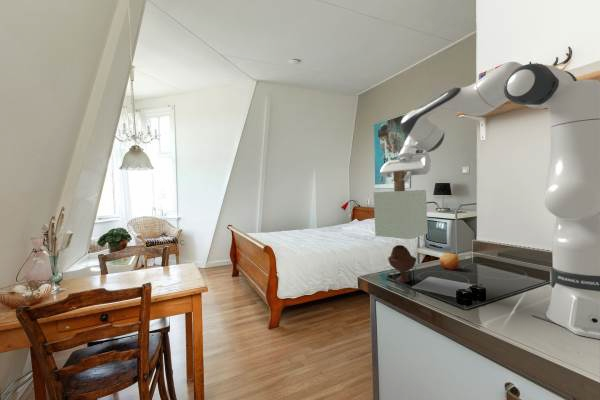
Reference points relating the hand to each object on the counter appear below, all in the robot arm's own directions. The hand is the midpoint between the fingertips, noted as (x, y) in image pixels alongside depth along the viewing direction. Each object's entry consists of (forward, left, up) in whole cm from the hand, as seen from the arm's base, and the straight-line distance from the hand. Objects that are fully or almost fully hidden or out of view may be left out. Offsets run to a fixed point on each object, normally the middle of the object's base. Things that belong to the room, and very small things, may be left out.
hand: (398, 181), depth 114 cm
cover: (0, -1, -22) cm, 22 cm away
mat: (-15, -3, -41) cm, 44 cm away
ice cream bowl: (0, -1, -41) cm, 41 cm away
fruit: (-8, -30, -41) cm, 51 cm away
